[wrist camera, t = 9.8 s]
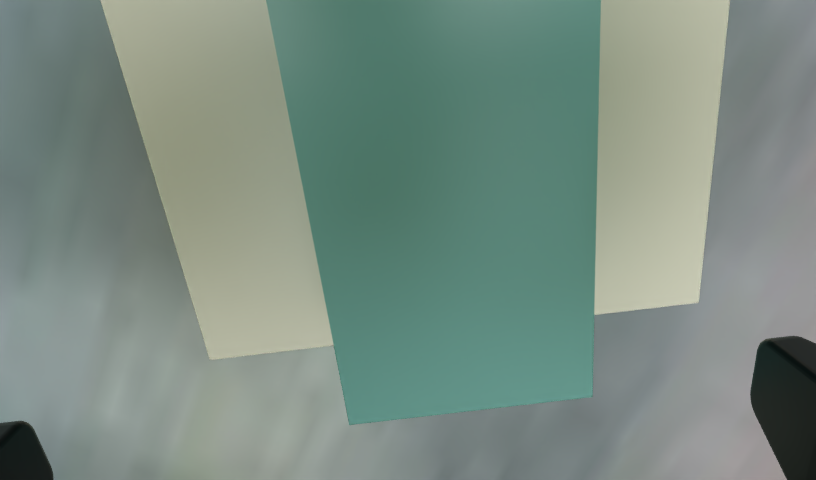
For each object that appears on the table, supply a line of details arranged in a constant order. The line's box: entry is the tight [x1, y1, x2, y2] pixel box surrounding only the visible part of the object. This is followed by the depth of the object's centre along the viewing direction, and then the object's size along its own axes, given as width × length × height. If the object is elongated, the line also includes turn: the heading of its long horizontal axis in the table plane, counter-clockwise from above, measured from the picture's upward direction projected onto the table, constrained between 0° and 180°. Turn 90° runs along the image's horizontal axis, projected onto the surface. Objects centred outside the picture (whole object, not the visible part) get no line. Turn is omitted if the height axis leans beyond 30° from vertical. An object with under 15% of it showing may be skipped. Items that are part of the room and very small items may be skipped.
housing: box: [266, 0, 601, 425], centre depth 15 cm, size 6×12×5 cm, turn 6°
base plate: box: [101, 0, 730, 360], centre depth 18 cm, size 14×15×2 cm
